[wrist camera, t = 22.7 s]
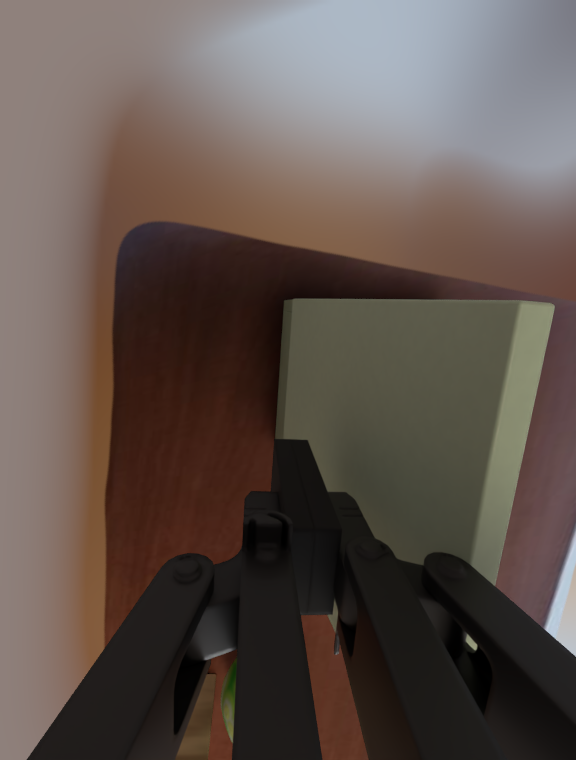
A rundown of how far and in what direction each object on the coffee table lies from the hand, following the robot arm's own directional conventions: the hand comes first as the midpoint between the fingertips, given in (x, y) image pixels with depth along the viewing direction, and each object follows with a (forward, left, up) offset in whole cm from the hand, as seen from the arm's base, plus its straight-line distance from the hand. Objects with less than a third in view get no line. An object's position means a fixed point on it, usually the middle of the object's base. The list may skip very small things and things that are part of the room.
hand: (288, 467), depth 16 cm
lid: (+2, +3, -1) cm, 3 cm away
